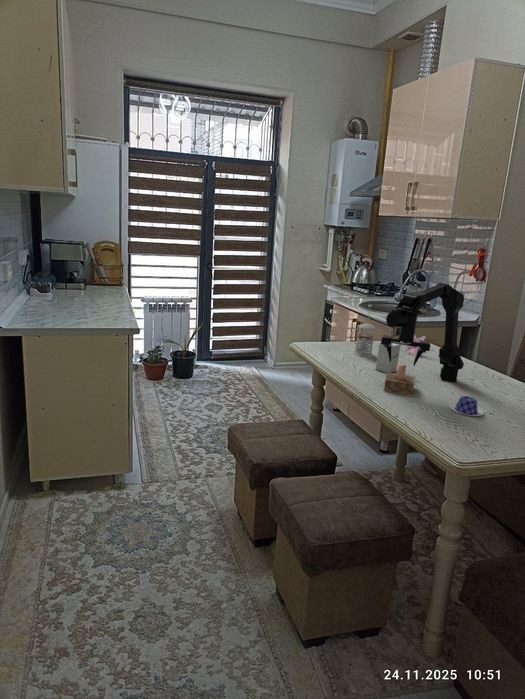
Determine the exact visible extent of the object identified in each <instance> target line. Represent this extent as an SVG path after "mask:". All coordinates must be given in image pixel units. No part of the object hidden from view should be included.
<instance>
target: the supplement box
mask: <svg viewBox="0 0 525 699" xmlns="http://www.w3.org/2000/svg"><path fill="white" fill-rule="evenodd" d="M400 350H401V344H394V343H392V355H391V362H390V360H389V355H388V351H387V348H386V347H384V345H383V344H381V342H379V344H378V351H377V358H376V364H375V370H377V371H380V372H384V373H386V374H387V373H393V372H395V371H396V372H397V368H398V363H399V357H400Z"/></svg>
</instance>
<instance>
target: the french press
mask: <svg viewBox="0 0 525 699" xmlns="http://www.w3.org/2000/svg"><path fill="white" fill-rule="evenodd" d="M367 307H368V312H370V309H371V308H373V305H372V304H368V305H367ZM369 318H370V314H368V316H367V319H369ZM359 328H360V329H363V330H365V333H363V332H361V333H359V331H360V329H359ZM375 329H376V327H375V326H374V325H372V324H369V321H367V323H362V324H359V325H358V328H355V329H354V330H353V331H352V333H351V340H352V342H353V343H354V344H355V350H354V351H353V354H354V355H355V356H357V357H362V358H363V357H364V358H372V357H374V354H373V344H374V338H373V337H374V335H373V334H369V333H367V332H368V331H374V330H375ZM356 331H358V336H357V339H356V340H357V341H355V340H354V339H353V336H354V332H356Z"/></svg>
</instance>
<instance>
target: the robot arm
mask: <svg viewBox="0 0 525 699" xmlns="http://www.w3.org/2000/svg"><path fill="white" fill-rule="evenodd" d="M437 298H440V299H441V303H442V304H441V306H442V307H443V310H444V311H445V322H444V324H445V325H444V344H443V345H442V347H441V348H438V349H439V350H438V358H439V364H440V365H442V367H441V368H440V372H439V373H440V374H439V378H440V380H441V381H444V382H450V383H458V373H459V370H462V369H463V368H464V365H465V363H464V361H463V360H462V357H461V350H460V347H459V346H458V329H459V328H458V327H459V326H458V325H459V312H460V311H461V310H462V309H463V306H464V301H465V295H464V294H463V293H462V292H460V291H458V290H457V289H454V288H453V287H452V285H450V284H449V283H444V282H440V283H437V284H436V285H432V286H431V287H428V288H426V289H423V290H420V291H409V292H406V293H405V294H403V296H402V298H401V299H400V300H399V302H398V304H397V305H396V306H395V308H392V309H391V312H389V313H388V314H387V315H386V317H385V320H386V324H387V326H388V327H390V328H395V337H398V338H393V336H392V335H387V334H384V335H382V336H381V339H380V341H381V342H380V343H381V344H383V345H384V347H386V348H387V351H388V355H389V360H390V362H391V355H392V343H394V344H401V345H403V346H406V345H407V346H414V347H418V350H417V353H416V357H414V361H413V367H415V366H416V364H417V362H418V360H419V359H420V357H421V356H422V355H423V354H426V353H427V352H430V350H431V343H430V341H429V340H428V341H427V340H423V341H422V340H420V342H413V340H414V335H415V334H416V327H417V322H418V317H419V316H420V315H422V312H421V311H420V310H421V309H422V308H424V306H426V304H427V303H428V302H430V301H433V300H435V299H437ZM415 336H416V335H415ZM403 342H404V343H403ZM408 343H410V344H408ZM407 346H406V347H407Z"/></svg>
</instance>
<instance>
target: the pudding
mask: <svg viewBox="0 0 525 699" xmlns="http://www.w3.org/2000/svg"><path fill="white" fill-rule="evenodd" d="M449 408H450V409H451V410H452V411H453V412H455V413H458V414H461V415H465V416H470V417H479V416H480V417H481V416H483V415H484V411H483V410H482V409H481V408H478V400H477V399H476V398H475V397H471V396H468V395H462V396H460V397H459V398H458V401H457V403H452V404H450V405H449Z"/></svg>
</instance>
